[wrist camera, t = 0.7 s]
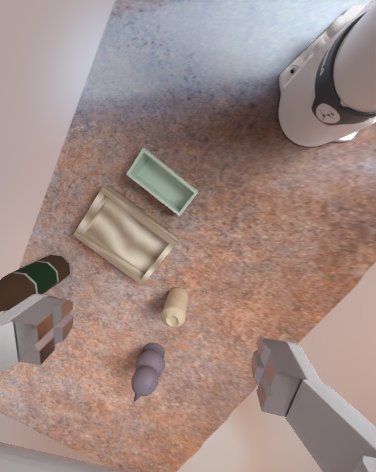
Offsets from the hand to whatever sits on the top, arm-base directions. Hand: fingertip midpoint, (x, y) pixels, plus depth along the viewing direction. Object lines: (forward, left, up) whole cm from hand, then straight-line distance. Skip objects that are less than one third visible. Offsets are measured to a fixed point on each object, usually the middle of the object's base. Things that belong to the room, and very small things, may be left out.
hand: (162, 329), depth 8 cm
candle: (+22, +11, -38) cm, 45 cm away
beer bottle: (+37, -20, -38) cm, 57 cm away
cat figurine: (+42, +17, -38) cm, 59 cm away
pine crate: (+16, -9, -38) cm, 42 cm away
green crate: (0, -9, -38) cm, 39 cm away
